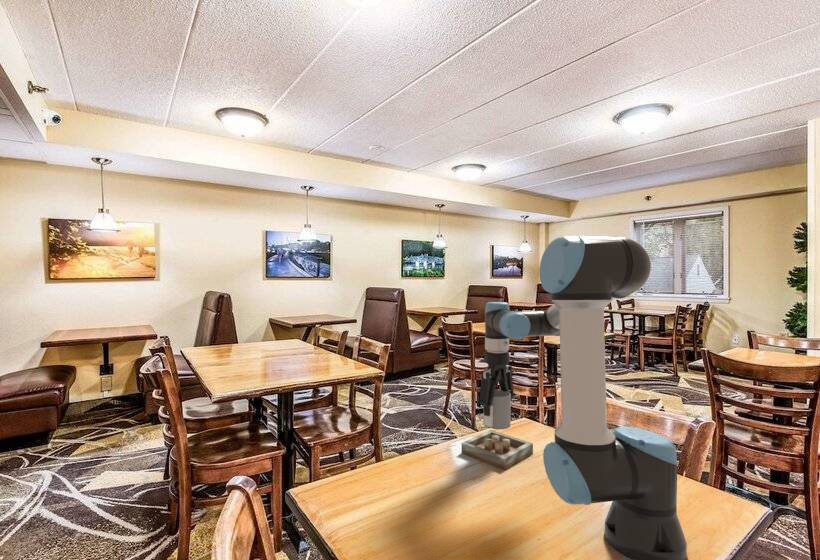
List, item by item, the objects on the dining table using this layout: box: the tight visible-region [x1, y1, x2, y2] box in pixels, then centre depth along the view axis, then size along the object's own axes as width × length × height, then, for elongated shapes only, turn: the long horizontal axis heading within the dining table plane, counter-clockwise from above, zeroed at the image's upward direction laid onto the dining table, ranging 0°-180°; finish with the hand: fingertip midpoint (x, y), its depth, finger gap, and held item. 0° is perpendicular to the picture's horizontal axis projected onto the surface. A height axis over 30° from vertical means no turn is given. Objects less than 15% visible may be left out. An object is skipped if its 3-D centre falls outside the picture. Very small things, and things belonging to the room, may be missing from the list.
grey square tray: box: [461, 429, 534, 471], centre depth 132 cm, size 16×16×4 cm
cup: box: [484, 389, 512, 430], centre depth 132 cm, size 8×8×10 cm
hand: (497, 421), depth 132 cm, fingers closed on cup, 8 cm apart
